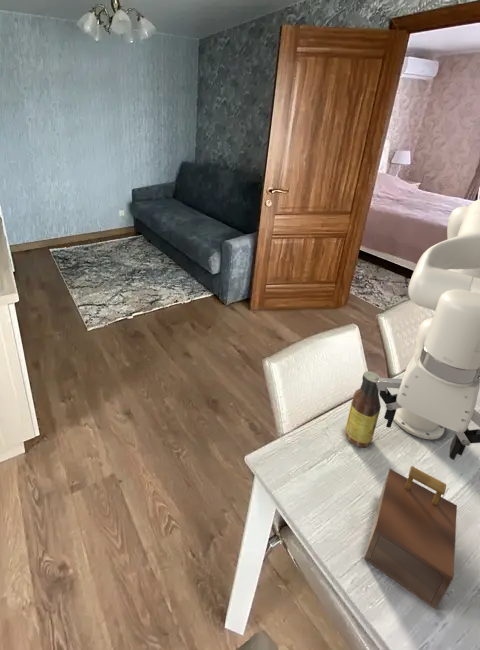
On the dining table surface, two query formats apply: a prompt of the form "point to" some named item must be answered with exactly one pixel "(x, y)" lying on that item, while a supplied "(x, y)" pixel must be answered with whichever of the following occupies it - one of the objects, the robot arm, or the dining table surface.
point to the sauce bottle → (364, 411)
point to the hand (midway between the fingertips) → (419, 437)
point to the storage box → (405, 567)
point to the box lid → (419, 519)
